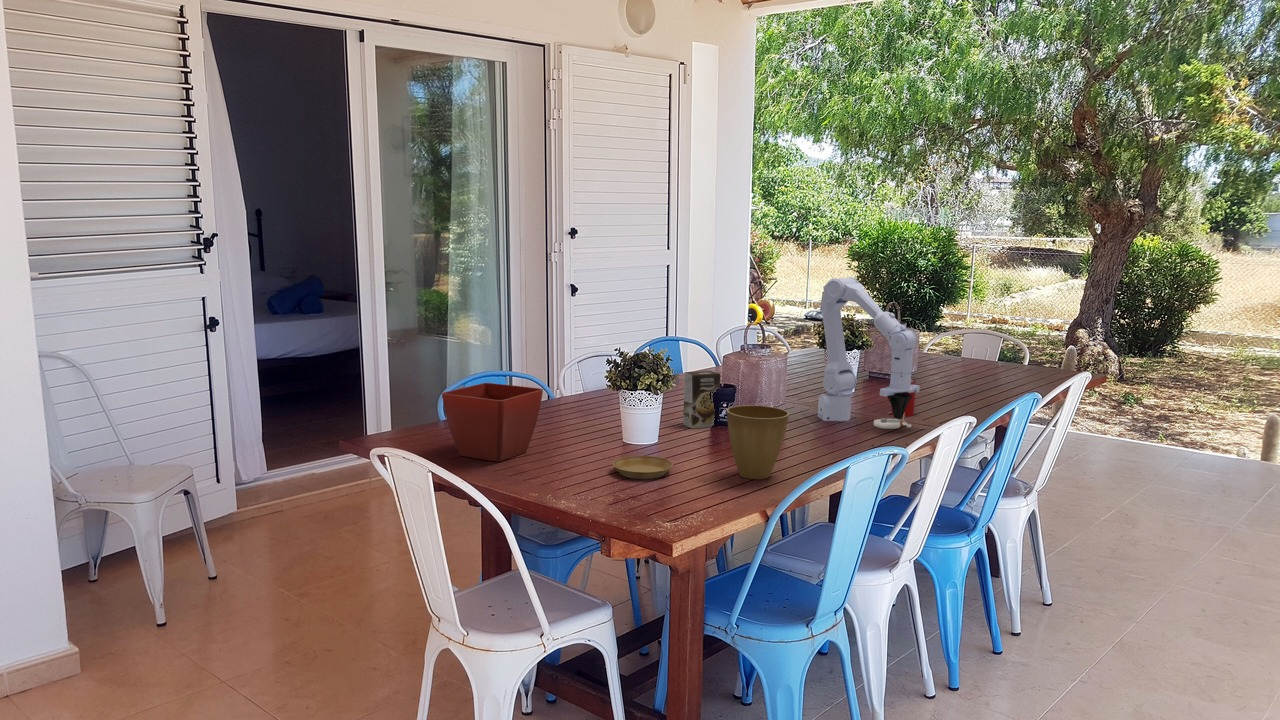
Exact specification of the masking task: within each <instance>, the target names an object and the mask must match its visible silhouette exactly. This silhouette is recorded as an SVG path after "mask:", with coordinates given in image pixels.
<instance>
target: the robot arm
mask: <svg viewBox="0 0 1280 720" xmlns="http://www.w3.org/2000/svg"><path fill="white" fill-rule="evenodd" d="M848 302H851V303H855V304H856V305H858V306H859V307H860V308H861V309H862V310H863V311H865V313H867V315H869V316H870V317H871V318H872V319H873V326H874V327H875V328H876V329H877V330H878V331H879V332H880V333H881V334H882V335H883V336H884V337H885V338H886V339H887V340H888V346H889V347H890V349H891V366H890V382H889V386H887V387H883V388H879V396H880V397H887V398H888V401H889V403H890V406H891V411H892V410H893V414H892V416H893V419H902V418H903V415H904V412H905V409H906V407H907V405H908V403H909V401H910V400H911V399H912V395H910V394H908V393H911V392H915V393H920V388H921V387H920V385H917V384H915V385H911V380H912V369H913V368H912V367H913V358H914V357H913V356H914V355H913V354H914V348H916V346H917V344H918V336H917V334H916V333H915V332H914V330H912V329H907V327H906V326H905V325H904V324H903V325H902V324H901V323H900V322H899V320H898V319H897V318H896V315H895V314H894V313H893V312H889V311H883V310H882V308H881V307H880V306H879V305H878V304H877V302H875V301H874V299H873V298H872V297H871V296H870V294H869V293H868V292H867V291H866V290H865V288H864V285H863V284H862V283H861V282H859V281H858V279H857V278H855V277H852V276H848V277H844V278H843V277H840V278H837V277H836V278H835V277H834V278H831V279H829V280H828V281H827V282H826V284H825V285H824V286H823V298H822V302H821V315H822V322H823V328H824V337H825V345H826V353H827V359H828V363H827V365H826V367H825V368H824V369H823V374H824V377H823V380H822V386H823V389H824V390H825V391H826V392H825V393H821V394H819V396H818V400H817V402H818V404H817V405H818V406H817V418H819V419H821V420H822V421H823V422H848V421H850V420H851V411H852V409H851V407H852V394H853V390H854V389H855V388H856V386H857V382H858V380H857V376H856V374H855V373H854V371H853V366H852V364H851V363H850V362H849V361H848V359H847V351H846V350H847V349H846V344H845V335H844V327H843V319H842V312H841V310H842V309H843V307H844V306H845V305H846V304H847V303H848Z"/></svg>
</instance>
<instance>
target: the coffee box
mask: <svg viewBox="0 0 1280 720" xmlns="http://www.w3.org/2000/svg"><path fill="white" fill-rule="evenodd" d="M718 386H720V387H718ZM718 388H720V389H721V373H719V372H717V371H716V372H715V371H713V370H704V371H703V370H702V371H685V372H684V390H683V391H684V392H683V393H684V394H683V413H682V414H683V416H682V417H683V418H682V422H683V423H682V425H683V426H685V427H688V428H690V429H692V430H693V429H702V428H704V429H705V428H713V427H712V426H713V425H714V420H715V418H714V417H715V409H714V403H713V393H714V392H716V390H717V389H718ZM710 392H711V399H710ZM712 392H713V393H712Z"/></svg>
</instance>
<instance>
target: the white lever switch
mask: <svg viewBox="0 0 1280 720" xmlns="http://www.w3.org/2000/svg"><path fill="white" fill-rule="evenodd" d="M905 421H906V420H905V416H904V415H903V418H902V419H896V418H886V417H880V418H879V419H874V420H873V427H875V428H879V429H886V430H887V429H888V430H895V429H899V428H901V423H904V422H905Z"/></svg>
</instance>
